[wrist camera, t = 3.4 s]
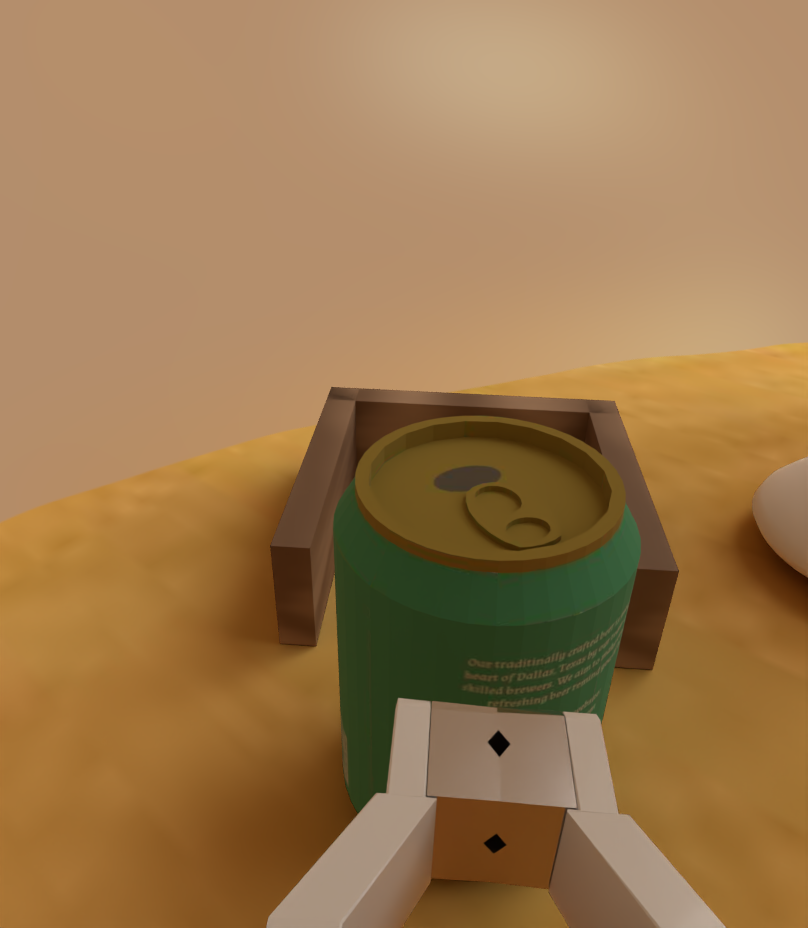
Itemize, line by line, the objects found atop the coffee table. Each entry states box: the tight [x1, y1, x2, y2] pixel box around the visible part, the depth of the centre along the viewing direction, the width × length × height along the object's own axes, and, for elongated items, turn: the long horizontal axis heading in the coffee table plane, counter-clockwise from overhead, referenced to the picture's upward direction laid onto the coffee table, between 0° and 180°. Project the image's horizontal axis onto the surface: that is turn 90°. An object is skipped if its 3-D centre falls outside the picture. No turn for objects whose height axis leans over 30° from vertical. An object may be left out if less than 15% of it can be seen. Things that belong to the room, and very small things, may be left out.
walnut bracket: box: [270, 387, 679, 670], centre depth 34 cm, size 15×14×5 cm
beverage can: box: [333, 416, 641, 881], centre depth 22 cm, size 8×8×12 cm
